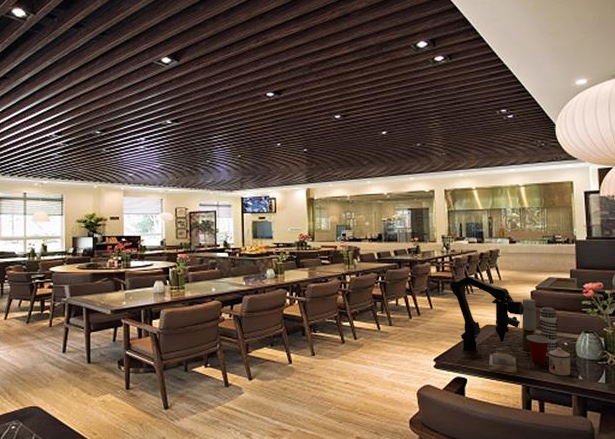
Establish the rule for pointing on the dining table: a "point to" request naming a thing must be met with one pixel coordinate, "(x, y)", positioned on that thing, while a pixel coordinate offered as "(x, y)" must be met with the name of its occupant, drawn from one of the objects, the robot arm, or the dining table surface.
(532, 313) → the water bottle
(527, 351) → the condiment
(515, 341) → the dining table surface
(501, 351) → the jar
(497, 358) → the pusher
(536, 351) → the plastic cup
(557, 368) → the teacup with lid
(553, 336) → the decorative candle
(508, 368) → the tan piece
